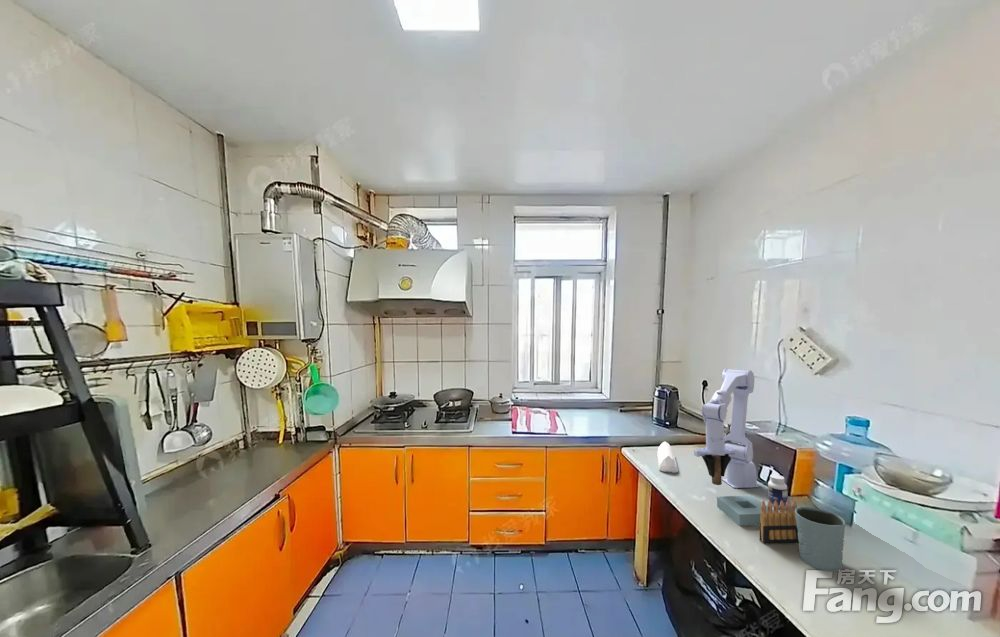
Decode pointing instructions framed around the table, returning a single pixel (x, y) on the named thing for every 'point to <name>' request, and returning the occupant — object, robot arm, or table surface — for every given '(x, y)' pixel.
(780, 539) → the ammunition clip
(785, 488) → the pill bottle
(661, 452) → the crystal
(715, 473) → the walnut peg
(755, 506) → the socket block
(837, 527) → the grey plant pot
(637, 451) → the table surface
